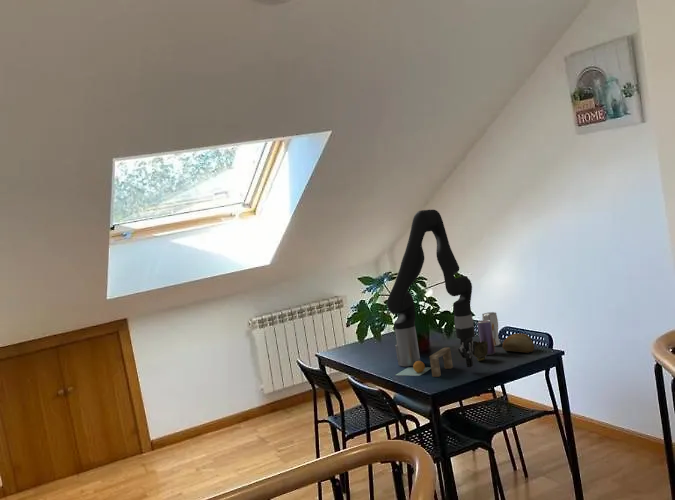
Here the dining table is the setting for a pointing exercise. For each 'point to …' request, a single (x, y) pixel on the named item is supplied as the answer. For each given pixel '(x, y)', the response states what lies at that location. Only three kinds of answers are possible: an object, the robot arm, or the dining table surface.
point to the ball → (419, 366)
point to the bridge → (435, 361)
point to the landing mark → (412, 372)
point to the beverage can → (486, 335)
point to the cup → (481, 350)
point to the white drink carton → (493, 325)
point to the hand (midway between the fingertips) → (470, 366)
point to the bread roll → (518, 343)
